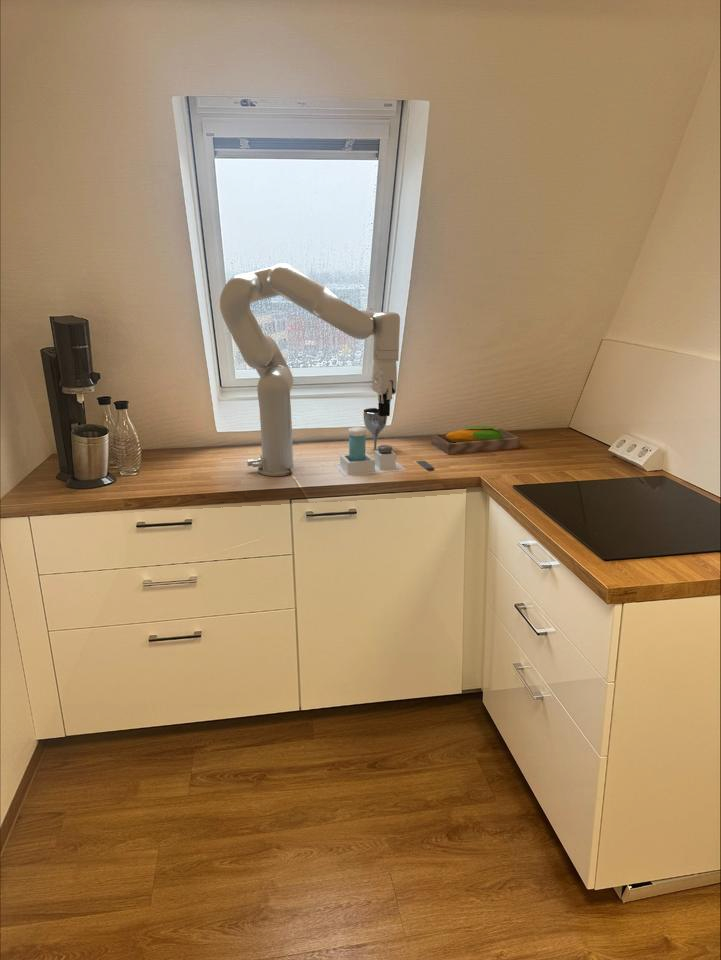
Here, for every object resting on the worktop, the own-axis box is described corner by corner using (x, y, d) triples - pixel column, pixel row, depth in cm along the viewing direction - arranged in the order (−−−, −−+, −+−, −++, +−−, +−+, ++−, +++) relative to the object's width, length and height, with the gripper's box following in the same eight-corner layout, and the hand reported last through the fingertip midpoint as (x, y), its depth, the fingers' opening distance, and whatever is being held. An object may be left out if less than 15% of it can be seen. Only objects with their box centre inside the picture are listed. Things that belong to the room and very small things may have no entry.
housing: (343, 481, 200) (343, 461, 198) (333, 469, 211) (333, 451, 209) (406, 474, 205) (406, 456, 203) (393, 463, 216) (393, 446, 214)
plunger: (380, 467, 206) (380, 449, 204) (376, 463, 210) (376, 445, 208) (393, 466, 207) (394, 448, 206) (389, 462, 211) (389, 444, 210)
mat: (410, 472, 208) (410, 469, 208) (401, 465, 215) (401, 462, 215) (434, 470, 210) (434, 467, 210) (424, 462, 217) (424, 460, 217)
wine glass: (377, 458, 222) (378, 414, 217) (358, 454, 227) (358, 411, 222) (391, 453, 228) (392, 409, 223) (372, 449, 233) (372, 406, 228)
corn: (505, 428, 230) (446, 427, 231) (503, 449, 232) (445, 448, 233) (502, 424, 237) (445, 423, 238) (501, 445, 239) (444, 444, 240)
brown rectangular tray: (447, 454, 226) (448, 444, 225) (431, 443, 240) (431, 434, 238) (519, 447, 234) (520, 438, 233) (500, 437, 247) (500, 428, 246)
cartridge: (351, 472, 203) (351, 432, 199) (346, 466, 208) (346, 427, 204) (368, 470, 205) (368, 430, 201) (363, 465, 210) (363, 426, 206)
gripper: (366, 351, 204) (364, 410, 210) (382, 359, 190) (379, 421, 196) (389, 351, 206) (387, 409, 212) (406, 358, 192) (403, 420, 198)
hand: (383, 415), depth 204 cm, fingers closed
